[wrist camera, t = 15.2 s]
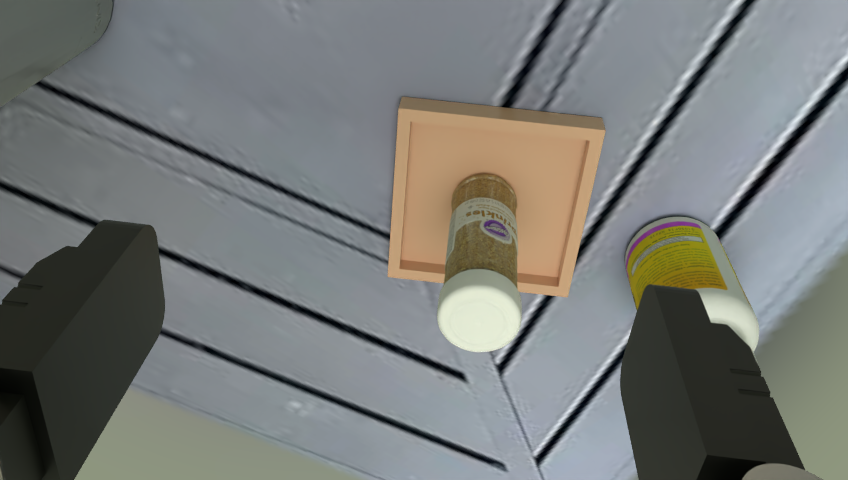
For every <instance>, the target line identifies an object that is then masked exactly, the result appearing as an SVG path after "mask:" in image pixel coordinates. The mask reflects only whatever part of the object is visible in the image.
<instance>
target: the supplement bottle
mask: <svg viewBox="0 0 848 480" xmlns="http://www.w3.org/2000/svg"><path fill="white" fill-rule="evenodd" d="M625 267H626V272H627V276H628V280H629V283H630V287H631V291H632V294H633V298H634V302H635V305H636V309H637V310H638V307H639V303H640V300H641V297H642V294H643V291H644V289H645V288H646V286H647V285H649V284H653V285H661V286H670V287H679V288H687V289H695V290H697V291H698V292H699V294H700V296H701V299H702V301H703V304H704V306H705V309H706V311H707V314H708V316H709V319H710V321H711V323H720V324H727V325H728V326H729V327H730V328H731V329H732V330H733V331H734V332H735V333H736V334H737V335H738V336H739V337H740V338H741V339H742V340H743V341H744V342H745V343H746V344H747V345H748V346H749V347H750V348H751V350H752V353H753V355H754V350H755V349H756V346H757V343H758V339H759V326H758V321H757V318H756V316H755V313H754V311H753V309H752V307H751V305H750V303H749V301H748V299H747V297H746V295H745V293H744V291H743V289H742V286H741V284H740V282H739V280H738V278H737V276H736V274H735V272H734V270H733V267H732V265H731V263H730V261H729V259H728V257H727V254H726V252H725V250H724V248H723V246H722V244H721V242H720V240H719V239H718V237H717V235H716V234H715V233H714V231H713V230H712V229H711V228H710V227H708V226H707V225H705V224H704V223H702V222H700V221H698V220H695V219H692V218H687V217H669V218H664V219H660V220H657V221H655V222H653V223H651V224H649V225H647V226H646V227H644V228H643V229H641V230H640V231H639V232H638V233H637V234H636V235H635V237H634V238H633V239H632V241H631V242H630V244H629V246H628V248H627V251H626V256H625ZM754 357H755V355H754ZM755 359H756V358H755ZM756 362H757V361H756ZM757 364H758V363H757Z"/></svg>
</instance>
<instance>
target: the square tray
mask: <svg viewBox="0 0 848 480" xmlns="http://www.w3.org/2000/svg"><path fill="white" fill-rule="evenodd" d="M605 131H606V130H605V127H604V123H603V120H602V118H599V117H589V116H580V115H571V114H561V113H552V112H542V111H533V110H524V109H514V108H505V107H495V106H486V105H477V104H467V103H458V102H448V101H439V100H430V99H420V98H411V97H402V98H401V102H400V105H399V110H398V125H397V141H396V156H395V172H394V187H393V203H392V218H391V233H390V249H389V264H388V277H394V278H402V279H411V280H420V281H429V282H438V283H444V278H445V261H446V253H447V244H448V235H449V225H450V219H451V215H452V207H451V201H452V195H453V193H454V191H455V189H456V188H457V186H458V185H459V184H460V183H462V182H463V181H464V180H465V179H467V178H469V177H471V176H474V175H479V174H490V175H496V176H497V177H499V178H502V179H503V180H504V181H506V182H507V184H509V185H510V186H511V187H512V189H513V190H514V192H515V195H516V199H517V208H516V222H517V234H518V256H517V279H518V280H517V289H518V291H519V292H526V293H535V294H544V295H552V296H561V297H568V294H569V289H570V285H571V280H572V276H573V272H574V267H575V263H576V258H577V254H578V250H579V245H580V241H581V236H582V232H583V228H584V223H585V219H586V214H587V210H588V206H589V201H590V197H591V192H592V188H593V184H594V179H595V175H596V170H597V166H598V162H599V157H600V153H601V148H602V144H603V140H604V135H605Z"/></svg>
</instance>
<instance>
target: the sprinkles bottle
mask: <svg viewBox="0 0 848 480" xmlns="http://www.w3.org/2000/svg"><path fill="white" fill-rule="evenodd" d="M451 207H452V215H451V219H450V225H449V235H448V244H447V253H446V261H445V278H444V285H443V288H442V289H441V292H440V295H439V301H438V311H437V320H438V325H439V328H440V330H441V332H442V333H443V335H444V336H445V337H446V338H447V339H448V340H449V341H450V342H451V343H452V344H454V345H456V346H457V347H459V348H462V349H464V350H468V351H472V352H488V351H493V350H497V349H499V348H501V347H503V346H505V345H507V344H508V343H509V342H510V341H511V340H513V339H514V337H515V336H516V334H517V333H518V331H519V328H520V325H521V312H522V309H521V297H520V294H519V291H518V289H517V280H518V279H517V256H518V234H517V222H516V208H517V199H516V195H515V192H514V190H513V189H512V187H511V186H510V185H509V184H507V182H506V181H504V180H503V179H502V178H499V177H497V176H496V175H490V174H479V175H474V176H471V177H469V178H467V179H465V180H464V181H463V182H462V183H460V184H459V185H458V186H457V188H456V189H455V191H454V193H453V195H452V201H451Z"/></svg>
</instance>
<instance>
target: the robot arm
mask: <svg viewBox="0 0 848 480" xmlns="http://www.w3.org/2000/svg"><path fill="white" fill-rule="evenodd" d="M112 7H113V2H112V0H0V107H1V106H3V105H4V104H6V103H7V102H9V101H10V100H12V99H13V98H15V97H16V96H18V95H19V94H21V93H22V92H24V91H25V90H27V89H28V88H30V87H31V86H33V85H34V84H36V83H37V82H38V81H40V80H41V79H43V78H44V77H46V76H47V75H49V74H50V73H52V72H53V71H55V70H56V69H58V68H59V67H61V66H63V65H64V64H65V63H67V62H68V61H70V60H71V59H73V58H74V57H76V56H77V55H78V54H80V53H81V52H83V51H84V50H86V49H87V48H89V47H90V46H91V45H93V44H94V43H96V42H97V41H98V39H99V38H100V37H101V36H102V35H103V33H104V32H105V30H106V28H107V26H108V23H109V21H110V18H111V12H112ZM164 313H165V299H164V290H163V282H162V274H161V266H160V258H159V250H158V242H157V236H156V232H155V230H154V228H153V227H152V226H151V225H146V224H137V223H128V222H120V221H111V220H103V221H101V222H99V223H98V224H97V226H96V227H95V228H94V229H93V230H92V231H91V232H90V234H89V235H88V236H87V237H86V238H85V239H84V240H83V242H82V243H81V244H80V245H79V246H78V247H71V246H66V247H64V248H62V249H60V250H59V251H57V252H55V253H53V254H51V255H50V256H48V257H46V258H44V259H42V260H41V261H39V262H37V263H36V264H35V265H34V266H33V268H32V269H31V270H30V271H29V272H28V273H27V274H26V275H25V276H24V277H23V278H22V279H21V280H20V282H19V283H18V287H14V288H13V289H12V290H11V291H10V292H9V293H8V294H7V296H6V297H5V298H4V299H3V300H2V305H0V480H74V479H75V477H76V475H77V474H78V472H79V470H80V469H81V467H82V465H83V464H84V462H85V460H86V458H87V457H88V455H89V453H90V451H91V450H92V448H93V447H94V445H95V443H96V442H97V440H98V438H99V436H100V435H101V433H102V431H103V430H104V428H105V426H106V425H107V423H108V421H109V420H110V418H111V416H112V414H113V413H114V411H115V409H116V408H117V406H118V404H119V403H120V401H121V399H122V398H123V396H124V394H125V393H126V391H127V389H128V387H129V386H130V384H131V382H132V381H133V379H134V377H135V376H136V374H137V372H138V371H139V369H140V367H141V365H142V364H143V362H144V360H145V359H146V357H147V355H148V354H149V352H150V350H151V349H152V347H153V345H154V343H155V342H156V340H157V338H158V336H159V334H160V331H161V328H162V324H163V320H164ZM620 387H621V396H622V401H623V406H624V411H625V415H626V420H627V425H628V430H629V435H630V440H631V444H632V449H633V454H634V459H635V464H636V468H637V473H638V478H639V480H823V479H821V478H819V477H817V476H816V475H814V474H812V473H810V472H808V471H805V468H804V466H803V464H802V462H801V460H800V458H799V455H798V453H797V451H796V448H795V446H794V444H793V442H792V440H791V437H790V435H789V433H788V431H787V429H786V426H785V424H784V422H783V419H782V417H781V415H780V413H779V411H778V408H777V406H776V404H775V402H774V399H773V398H771V397H770V391H769V388H768V386H767V384H766V382H765V379H764V378H763V377H761V371H760V368H759V366H758V364H757V362H756V359H755V357H754V355H753V353H752V350H751V348H750V347H749V346H748V345H747V344H746V343H745V342H744V341H743V340H742V339H741V338H740V337H739V336H738V335H737V334H736V333H735V332H734V331H733V330H732V329H731V328H730V327H729V326H728V325H727V324H720V323H711V321H710V319H709V316H708V314H707V311H706V309H705V306H704V304H703V301H702V299H701V296H700V294H699V292H698V291H697V290H695V289H687V288H679V287H670V286H661V285H653V284H649V285H647V286H646V288H645V289H644V291H643V294H642V297H641V300H640V303H639V307H638V310H637V313H636V316H635V320H634V323H633V326H632V330H631V333H630V336H629V340H628V343H627V346H626V349H625V353H624V356H623V360H622V366H621V377H620Z"/></svg>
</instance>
